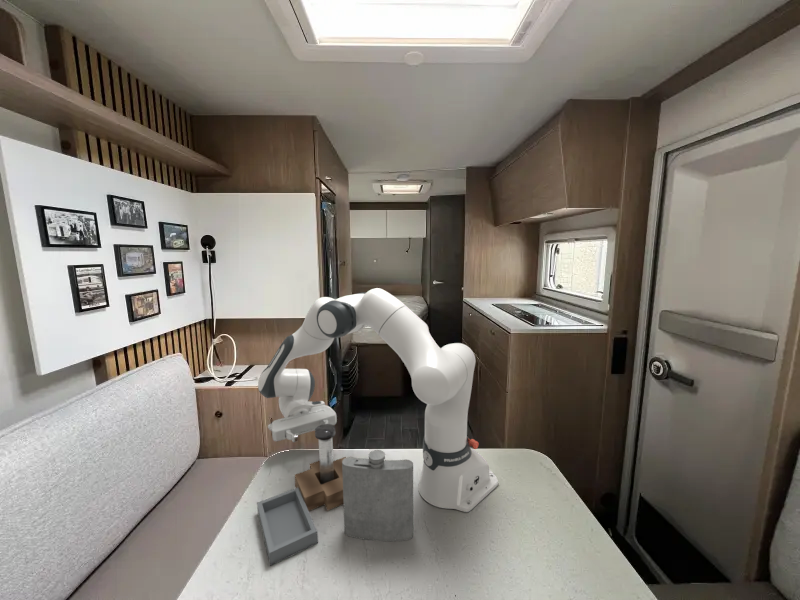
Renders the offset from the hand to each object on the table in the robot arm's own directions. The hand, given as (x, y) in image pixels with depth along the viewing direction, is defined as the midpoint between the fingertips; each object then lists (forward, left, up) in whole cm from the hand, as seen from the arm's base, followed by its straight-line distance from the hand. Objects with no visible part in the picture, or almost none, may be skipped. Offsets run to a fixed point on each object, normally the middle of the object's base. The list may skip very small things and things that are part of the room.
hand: (311, 434), depth 98 cm
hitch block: (0, +13, -9) cm, 16 cm away
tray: (+12, +20, -9) cm, 25 cm away
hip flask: (-5, +33, -9) cm, 35 cm away
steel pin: (0, +13, -9) cm, 16 cm away
